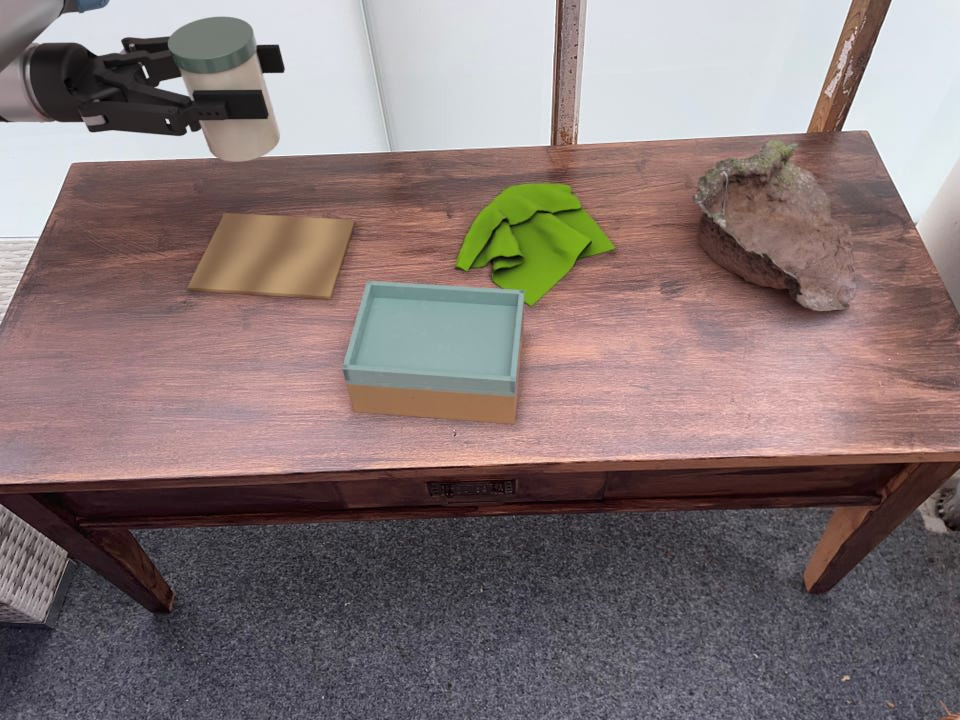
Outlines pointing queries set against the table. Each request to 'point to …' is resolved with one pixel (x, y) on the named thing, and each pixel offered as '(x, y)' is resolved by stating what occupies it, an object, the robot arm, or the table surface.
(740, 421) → the table surface
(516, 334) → the teal and tan box
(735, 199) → the rock
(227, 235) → the mat
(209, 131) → the jar
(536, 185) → the cloth
